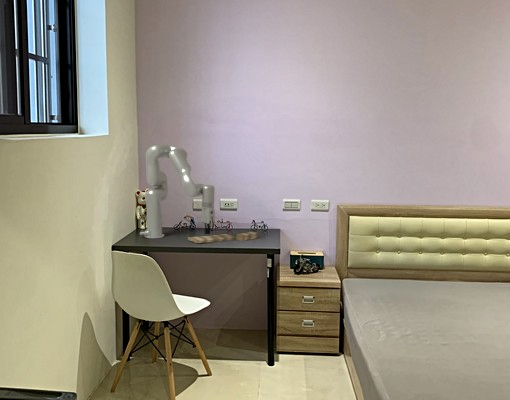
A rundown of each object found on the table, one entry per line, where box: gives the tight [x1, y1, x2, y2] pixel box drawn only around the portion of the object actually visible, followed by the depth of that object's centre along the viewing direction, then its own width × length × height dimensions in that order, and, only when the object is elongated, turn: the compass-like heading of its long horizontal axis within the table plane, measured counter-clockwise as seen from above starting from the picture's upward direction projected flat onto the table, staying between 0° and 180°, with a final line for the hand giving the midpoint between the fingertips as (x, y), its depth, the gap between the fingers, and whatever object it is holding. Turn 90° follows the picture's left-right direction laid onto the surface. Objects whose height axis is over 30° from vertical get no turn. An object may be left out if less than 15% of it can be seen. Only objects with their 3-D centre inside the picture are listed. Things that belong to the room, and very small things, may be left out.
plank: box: [187, 235, 218, 244], centre depth 357 cm, size 14×12×2 cm
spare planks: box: [235, 231, 259, 242], centre depth 367 cm, size 15×7×3 cm, turn 134°
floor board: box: [208, 233, 237, 243], centre depth 365 cm, size 14×12×2 cm
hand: (207, 233), depth 359 cm, fingers closed
